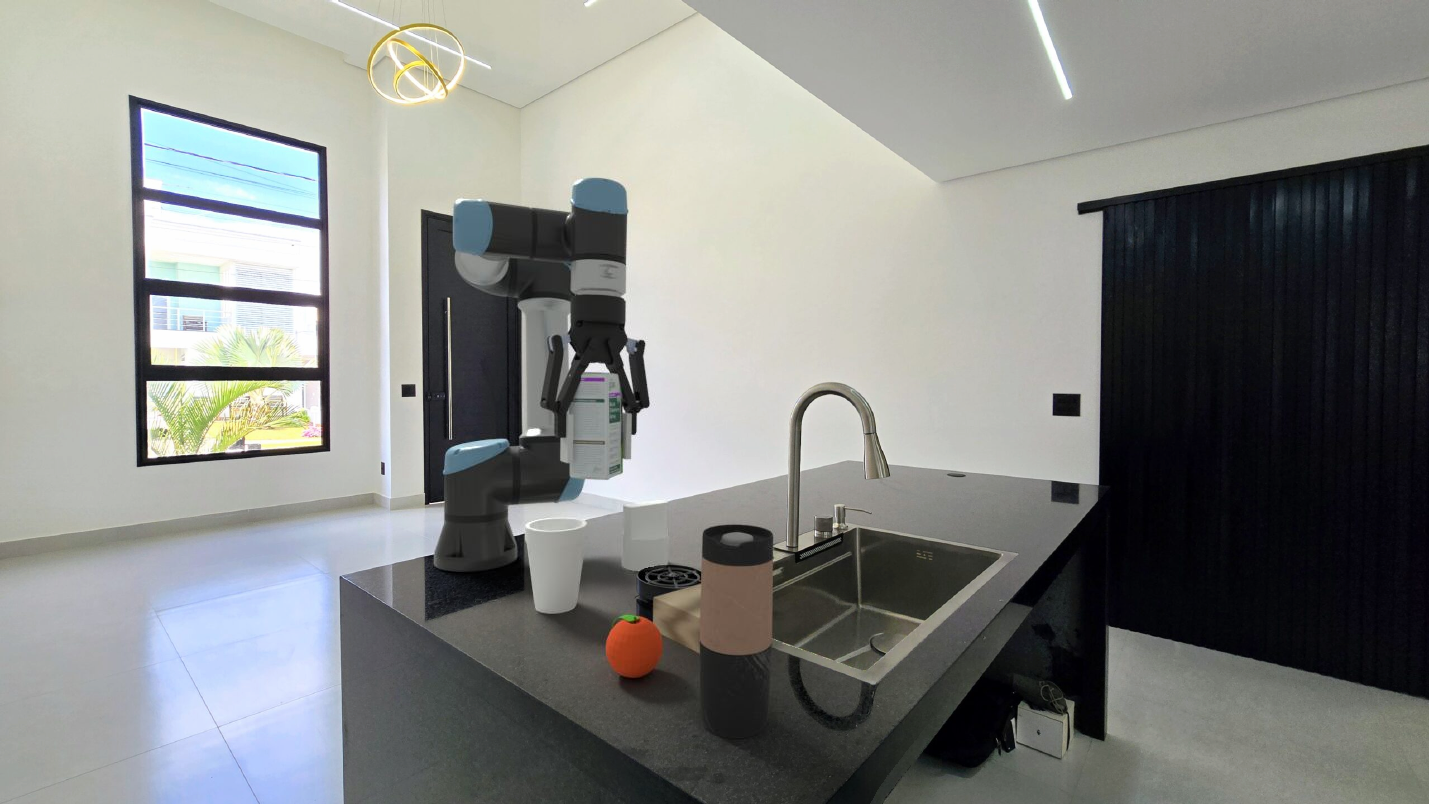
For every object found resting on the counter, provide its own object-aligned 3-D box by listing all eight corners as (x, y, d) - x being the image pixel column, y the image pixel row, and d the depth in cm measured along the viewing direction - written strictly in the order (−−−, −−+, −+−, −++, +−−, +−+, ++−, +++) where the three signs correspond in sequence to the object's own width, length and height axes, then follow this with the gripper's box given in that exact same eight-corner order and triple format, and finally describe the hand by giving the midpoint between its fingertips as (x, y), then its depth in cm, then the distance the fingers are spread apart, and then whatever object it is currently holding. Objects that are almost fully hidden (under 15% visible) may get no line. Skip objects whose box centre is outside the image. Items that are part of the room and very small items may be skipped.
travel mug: (746, 694, 70) (749, 521, 69) (784, 728, 63) (788, 537, 62) (686, 710, 66) (689, 527, 65) (719, 748, 59) (723, 545, 58)
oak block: (652, 631, 87) (653, 597, 87) (708, 612, 95) (709, 581, 95) (704, 658, 79) (705, 620, 79) (761, 635, 87) (761, 600, 87)
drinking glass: (638, 575, 111) (639, 510, 111) (612, 563, 118) (613, 502, 118) (677, 566, 117) (678, 504, 117) (650, 555, 124) (651, 497, 124)
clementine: (588, 671, 74) (588, 614, 74) (631, 653, 79) (632, 600, 79) (630, 695, 69) (631, 633, 69) (674, 674, 74) (675, 616, 74)
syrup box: (608, 480, 81) (610, 372, 81) (567, 478, 82) (568, 371, 82) (623, 474, 87) (624, 372, 86) (584, 471, 88) (585, 372, 87)
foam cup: (536, 622, 89) (537, 534, 89) (516, 602, 96) (516, 521, 96) (596, 608, 95) (597, 526, 94) (572, 591, 102) (573, 515, 102)
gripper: (532, 285, 75) (530, 468, 76) (677, 300, 86) (674, 459, 87) (514, 291, 81) (513, 461, 82) (652, 304, 93) (649, 453, 94)
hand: (596, 459), depth 85 cm, fingers closed on syrup box, 8 cm apart
